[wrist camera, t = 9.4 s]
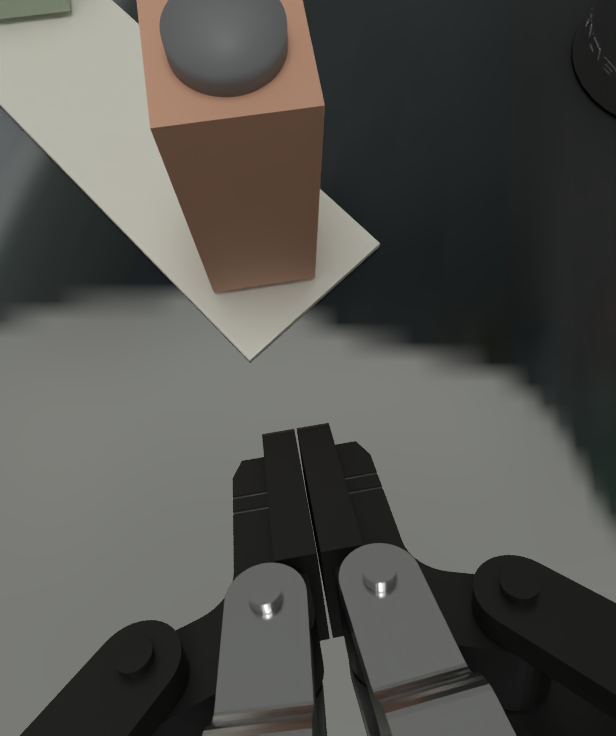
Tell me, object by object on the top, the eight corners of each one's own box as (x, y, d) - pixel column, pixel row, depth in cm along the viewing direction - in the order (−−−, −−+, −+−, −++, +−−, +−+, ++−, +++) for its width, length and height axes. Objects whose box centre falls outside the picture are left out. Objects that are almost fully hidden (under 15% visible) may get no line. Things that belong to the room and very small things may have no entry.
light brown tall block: (298, 189, 28) (296, -53, 16) (314, 277, 27) (325, 84, 15) (201, 202, 28) (127, -34, 16) (213, 292, 26) (141, 107, 14)
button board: (378, 247, 28) (380, 243, 28) (250, 363, 26) (249, 360, 26) (50, -52, 33) (47, -59, 33) (-76, 28, 31) (-80, 22, 31)
